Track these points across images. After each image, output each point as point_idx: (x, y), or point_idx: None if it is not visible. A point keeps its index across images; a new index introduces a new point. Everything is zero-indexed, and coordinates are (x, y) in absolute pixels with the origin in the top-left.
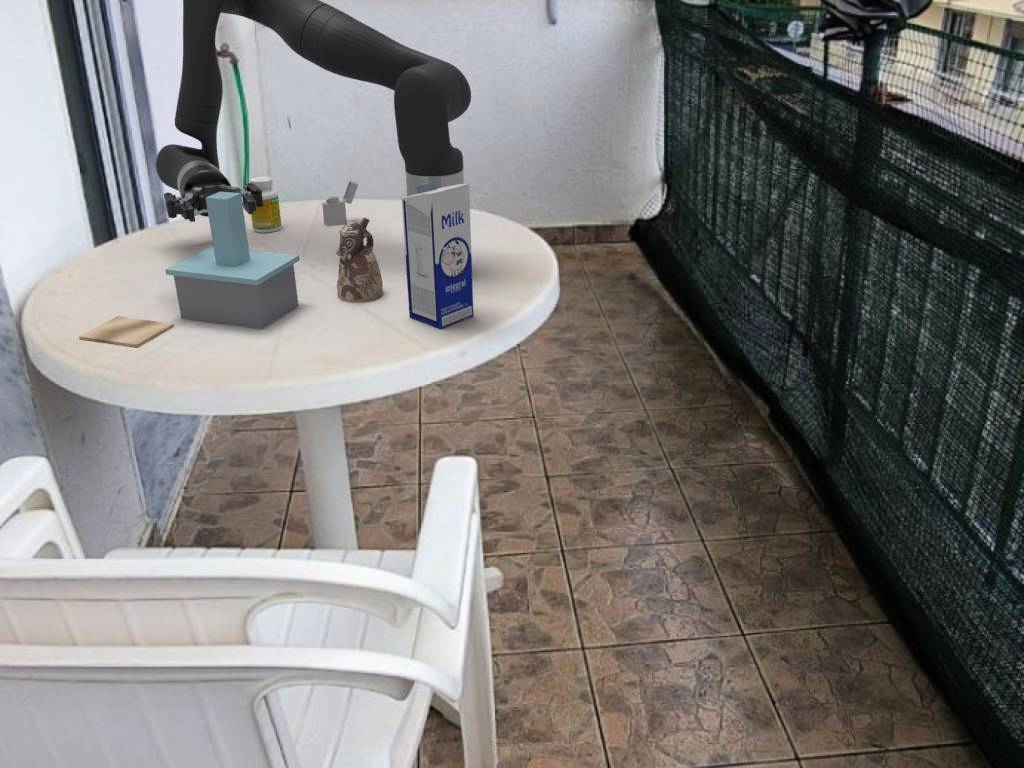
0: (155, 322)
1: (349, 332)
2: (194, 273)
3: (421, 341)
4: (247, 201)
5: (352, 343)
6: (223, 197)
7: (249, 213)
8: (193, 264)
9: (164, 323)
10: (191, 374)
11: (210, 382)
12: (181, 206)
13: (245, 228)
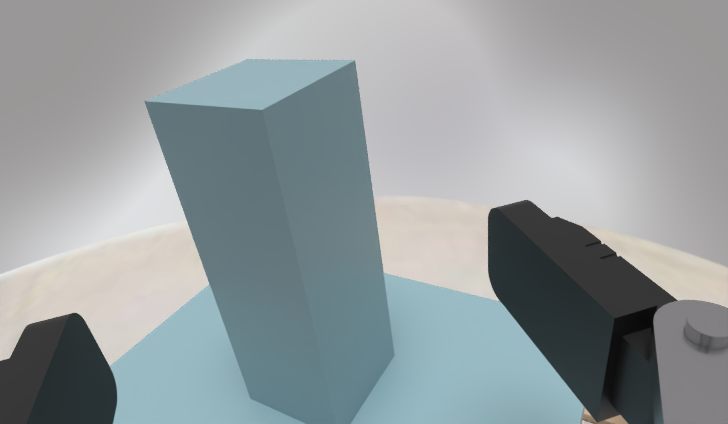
0: (623, 420)
1: (111, 338)
2: (461, 295)
3: (18, 296)
4: (75, 313)
5: (133, 296)
6: (257, 67)
7: (112, 385)
8: (499, 368)
9: (585, 409)
10: (421, 223)
11: (385, 207)
12: (654, 289)
13: (211, 279)
